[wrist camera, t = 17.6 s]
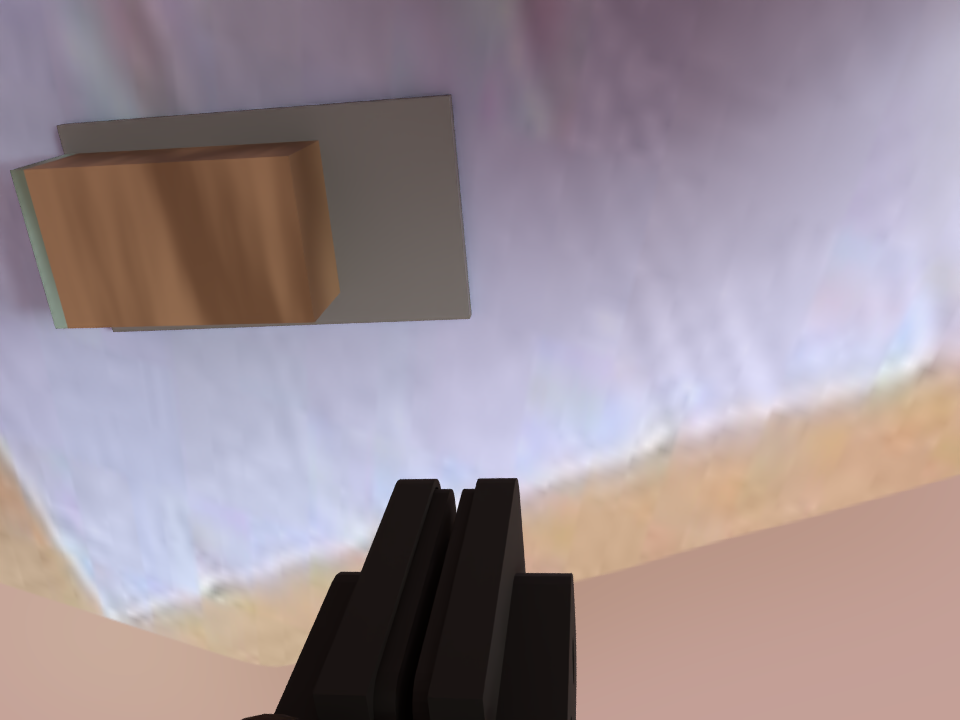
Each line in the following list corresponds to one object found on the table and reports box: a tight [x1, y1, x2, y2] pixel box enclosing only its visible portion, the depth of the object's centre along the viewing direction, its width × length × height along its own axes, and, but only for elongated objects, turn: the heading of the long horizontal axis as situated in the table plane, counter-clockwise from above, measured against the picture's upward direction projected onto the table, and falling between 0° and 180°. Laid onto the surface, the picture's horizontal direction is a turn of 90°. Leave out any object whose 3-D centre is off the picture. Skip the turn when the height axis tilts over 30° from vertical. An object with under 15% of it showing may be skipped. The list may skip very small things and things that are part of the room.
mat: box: [57, 95, 471, 332], centre depth 38 cm, size 18×10×1 cm, turn 95°
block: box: [10, 140, 340, 329], centre depth 37 cm, size 4×7×12 cm
